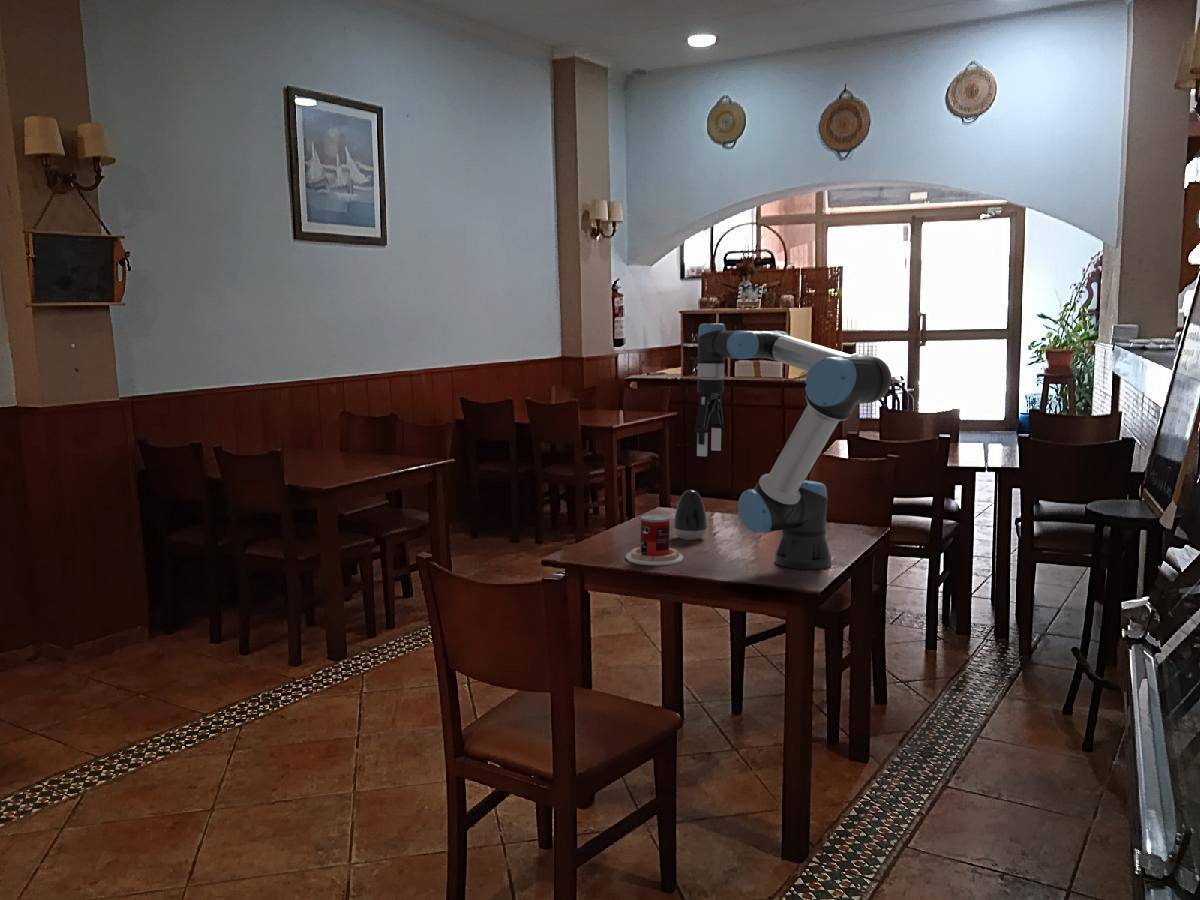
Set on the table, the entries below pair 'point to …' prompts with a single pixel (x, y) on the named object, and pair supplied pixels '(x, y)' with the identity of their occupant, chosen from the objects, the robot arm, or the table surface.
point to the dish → (654, 558)
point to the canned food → (655, 535)
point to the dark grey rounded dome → (690, 516)
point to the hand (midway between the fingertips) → (709, 453)
